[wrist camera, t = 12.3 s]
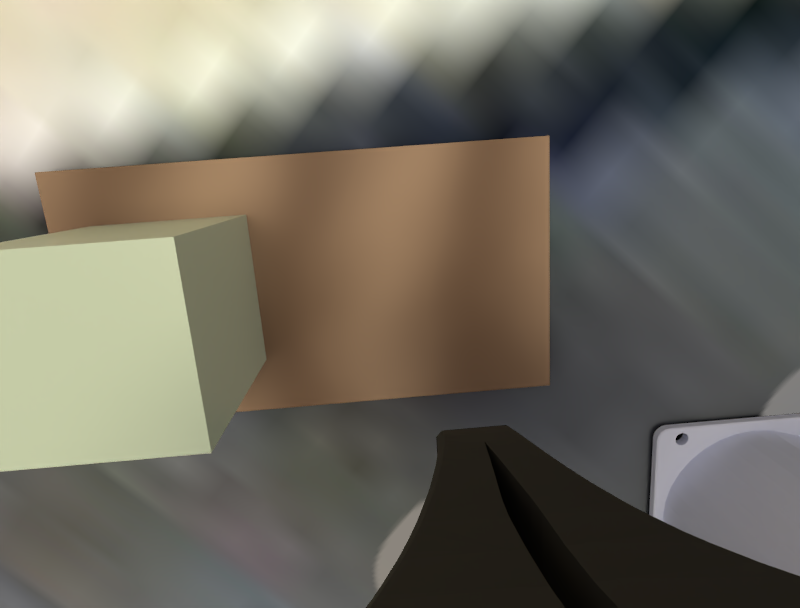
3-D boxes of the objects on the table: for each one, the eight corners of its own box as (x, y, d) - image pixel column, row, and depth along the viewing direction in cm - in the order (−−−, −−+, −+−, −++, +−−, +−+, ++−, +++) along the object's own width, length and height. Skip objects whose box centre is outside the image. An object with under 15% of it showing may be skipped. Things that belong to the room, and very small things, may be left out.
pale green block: (246, 214, 18) (173, 236, 11) (266, 359, 19) (211, 453, 13) (90, 226, 18) (-72, 255, 11) (121, 371, 19) (-9, 472, 12)
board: (540, 138, 19) (549, 135, 18) (541, 375, 21) (549, 385, 20) (52, 172, 18) (34, 172, 17) (106, 412, 20) (93, 424, 19)
